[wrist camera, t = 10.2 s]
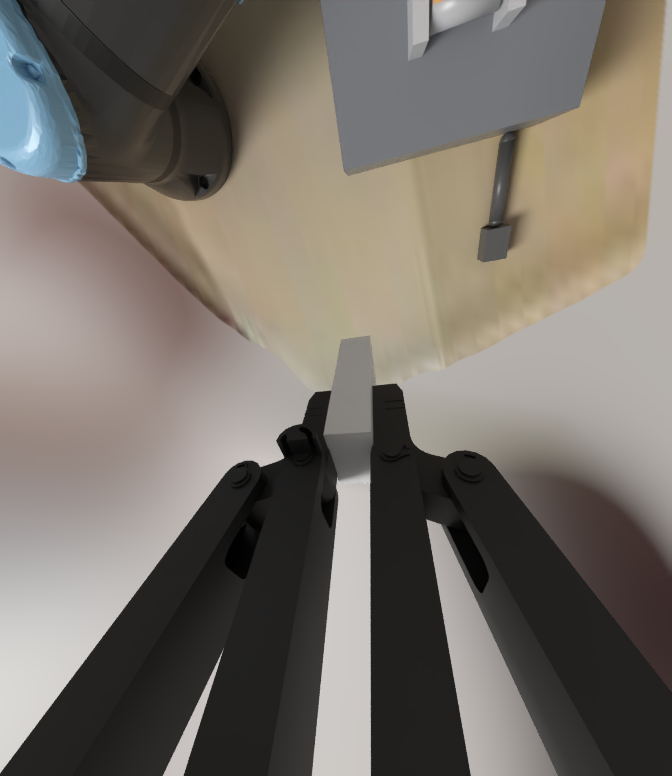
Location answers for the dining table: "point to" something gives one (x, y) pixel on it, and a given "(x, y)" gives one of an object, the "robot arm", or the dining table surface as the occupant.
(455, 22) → the breaker lever
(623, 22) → the dining table surface
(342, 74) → the breaker box
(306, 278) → the dining table surface
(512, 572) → the robot arm
